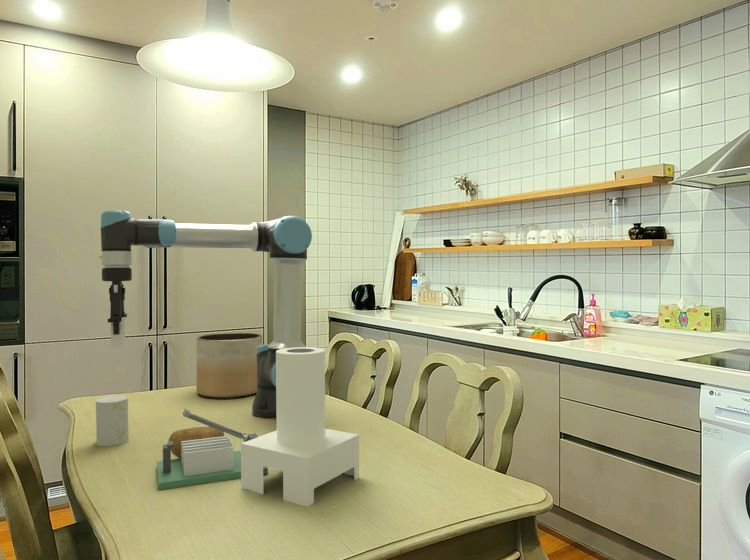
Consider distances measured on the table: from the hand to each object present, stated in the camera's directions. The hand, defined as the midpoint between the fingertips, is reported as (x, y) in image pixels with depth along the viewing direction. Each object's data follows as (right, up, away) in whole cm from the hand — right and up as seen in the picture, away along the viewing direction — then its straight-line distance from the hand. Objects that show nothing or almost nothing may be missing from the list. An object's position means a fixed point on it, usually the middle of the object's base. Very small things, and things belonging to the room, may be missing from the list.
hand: (118, 343), depth 155 cm
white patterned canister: (-3, -28, +2) cm, 28 cm away
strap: (+33, -18, -21) cm, 43 cm away
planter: (+14, -27, +64) cm, 71 cm away
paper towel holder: (+55, -28, -29) cm, 68 cm away
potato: (+26, -28, -12) cm, 40 cm away
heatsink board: (+32, -28, -21) cm, 47 cm away
